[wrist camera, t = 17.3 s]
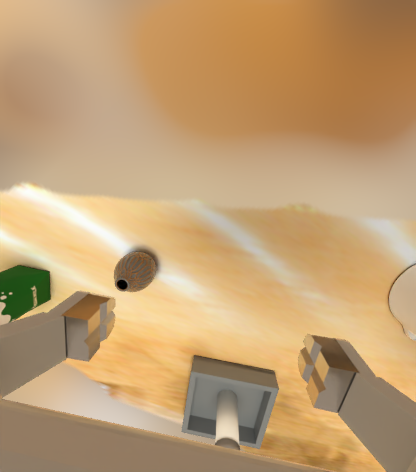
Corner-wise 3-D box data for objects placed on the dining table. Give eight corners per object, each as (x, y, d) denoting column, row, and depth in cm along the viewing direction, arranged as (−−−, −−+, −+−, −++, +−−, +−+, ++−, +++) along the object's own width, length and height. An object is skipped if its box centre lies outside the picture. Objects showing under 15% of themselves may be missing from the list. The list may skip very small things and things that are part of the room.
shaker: (238, 391, 45) (242, 455, 35) (235, 406, 46) (237, 472, 36) (218, 387, 45) (216, 449, 35) (215, 402, 47) (212, 467, 36)
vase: (167, 267, 40) (151, 290, 32) (142, 285, 42) (120, 311, 33) (145, 240, 39) (123, 256, 31) (120, 259, 41) (92, 279, 32)
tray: (274, 370, 44) (278, 388, 40) (257, 428, 49) (259, 448, 45) (194, 355, 45) (191, 371, 41) (184, 412, 50) (181, 432, 46)
